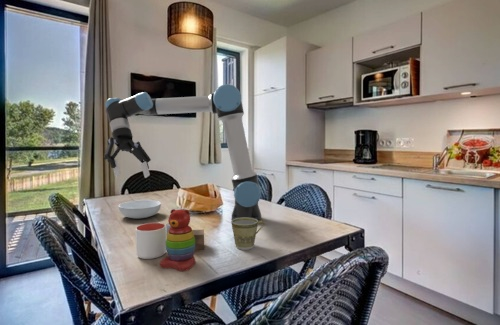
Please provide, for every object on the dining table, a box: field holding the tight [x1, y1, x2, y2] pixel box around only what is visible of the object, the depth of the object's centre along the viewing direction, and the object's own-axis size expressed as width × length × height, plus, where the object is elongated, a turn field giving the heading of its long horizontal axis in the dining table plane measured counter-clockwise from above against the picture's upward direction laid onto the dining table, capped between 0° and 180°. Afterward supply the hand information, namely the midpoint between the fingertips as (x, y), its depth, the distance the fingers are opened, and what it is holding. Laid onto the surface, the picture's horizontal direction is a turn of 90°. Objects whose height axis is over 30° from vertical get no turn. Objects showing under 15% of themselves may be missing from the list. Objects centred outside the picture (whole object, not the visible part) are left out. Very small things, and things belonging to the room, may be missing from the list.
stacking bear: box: [159, 208, 196, 272], centre depth 95 cm, size 11×10×18 cm
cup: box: [135, 222, 167, 260], centre depth 103 cm, size 10×10×10 cm
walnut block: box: [192, 229, 205, 252], centre depth 109 cm, size 6×6×6 cm
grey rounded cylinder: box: [165, 222, 171, 239], centre depth 116 cm, size 6×6×7 cm
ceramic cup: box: [231, 217, 265, 251], centre depth 110 cm, size 13×10×10 cm
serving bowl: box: [118, 199, 162, 220], centre depth 154 cm, size 21×21×7 cm
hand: (133, 175), depth 118 cm, fingers open, 13 cm apart
